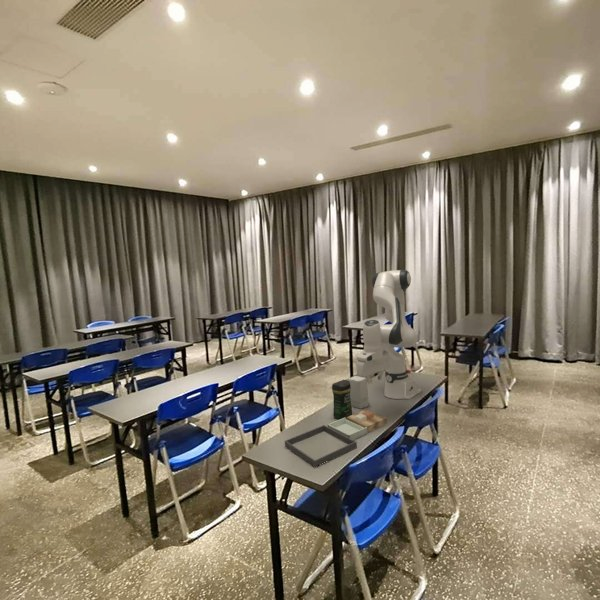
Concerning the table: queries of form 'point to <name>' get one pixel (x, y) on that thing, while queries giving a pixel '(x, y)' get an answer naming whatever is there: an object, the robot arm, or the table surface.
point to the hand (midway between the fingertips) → (375, 381)
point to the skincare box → (358, 392)
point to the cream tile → (360, 417)
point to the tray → (348, 428)
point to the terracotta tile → (368, 414)
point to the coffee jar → (342, 399)
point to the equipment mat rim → (327, 457)
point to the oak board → (369, 421)
